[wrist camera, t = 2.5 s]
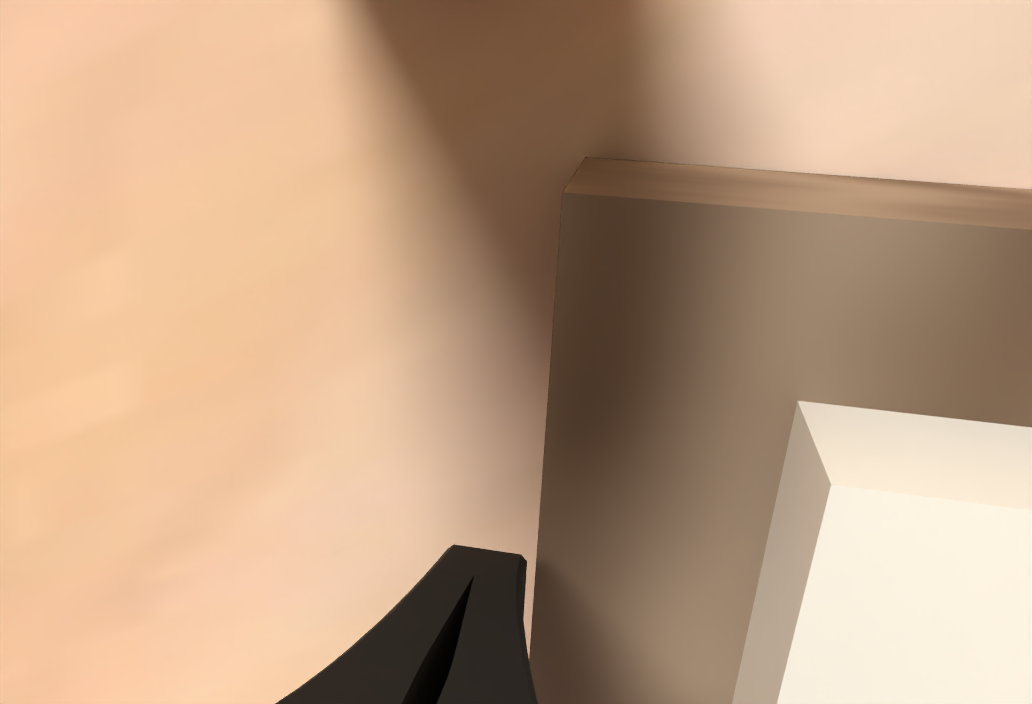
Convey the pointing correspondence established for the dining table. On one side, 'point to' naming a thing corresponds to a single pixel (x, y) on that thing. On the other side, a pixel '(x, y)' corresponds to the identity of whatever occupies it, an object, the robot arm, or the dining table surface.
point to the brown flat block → (739, 388)
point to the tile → (895, 564)
